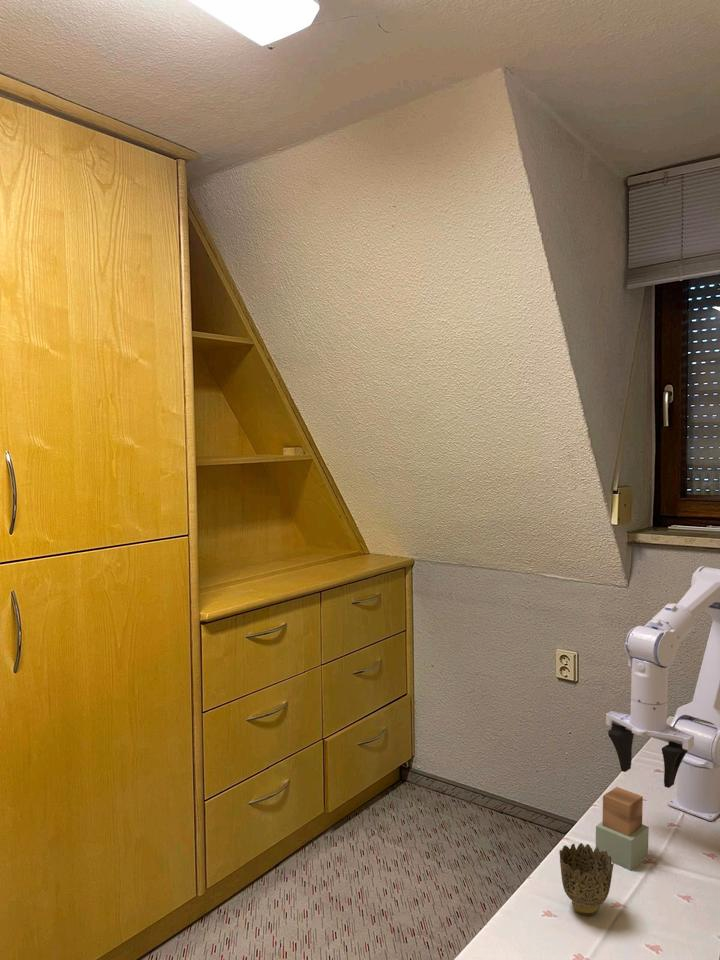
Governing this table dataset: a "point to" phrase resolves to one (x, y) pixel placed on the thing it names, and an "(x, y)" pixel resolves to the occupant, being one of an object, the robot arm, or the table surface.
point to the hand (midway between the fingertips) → (647, 777)
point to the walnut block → (622, 811)
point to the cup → (586, 877)
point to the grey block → (623, 845)
